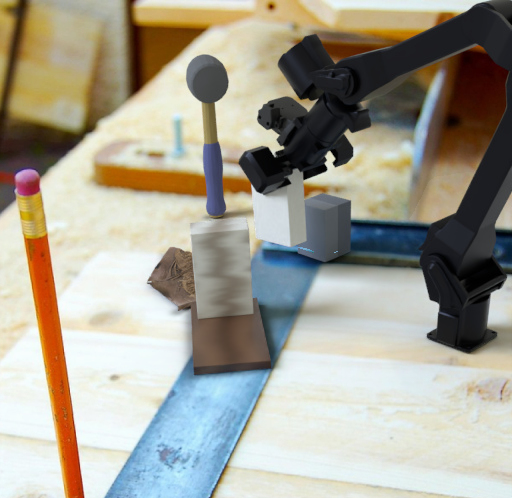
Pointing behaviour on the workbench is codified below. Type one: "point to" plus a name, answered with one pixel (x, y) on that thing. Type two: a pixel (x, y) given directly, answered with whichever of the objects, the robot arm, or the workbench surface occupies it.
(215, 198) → the rubber mallet
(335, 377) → the workbench surface
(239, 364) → the marble panel stand
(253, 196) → the white rectangular block
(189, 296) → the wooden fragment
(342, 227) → the grey box
